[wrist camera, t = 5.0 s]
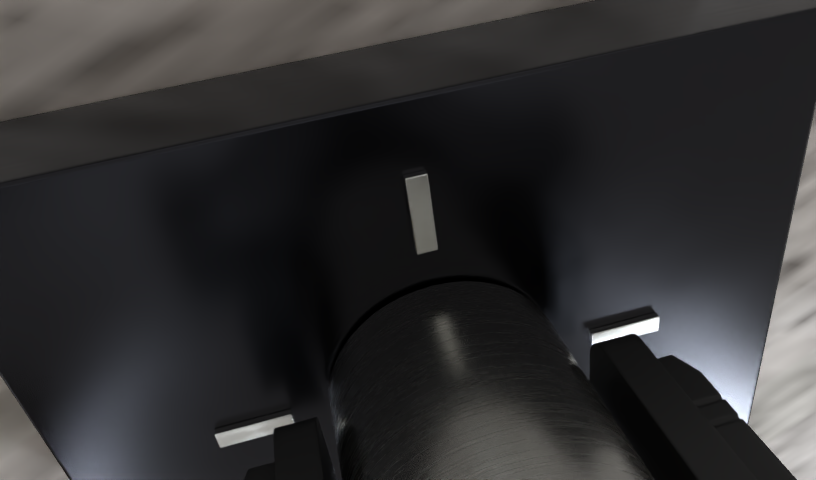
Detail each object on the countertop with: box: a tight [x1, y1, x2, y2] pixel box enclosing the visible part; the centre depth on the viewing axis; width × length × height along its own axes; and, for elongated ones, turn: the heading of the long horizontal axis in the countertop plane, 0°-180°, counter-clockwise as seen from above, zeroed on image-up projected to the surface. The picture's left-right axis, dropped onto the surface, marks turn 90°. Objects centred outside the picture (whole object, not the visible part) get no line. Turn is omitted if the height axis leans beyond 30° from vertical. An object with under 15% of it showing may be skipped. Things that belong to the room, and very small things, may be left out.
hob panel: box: [0, 0, 816, 480], centre depth 13 cm, size 14×11×3 cm
